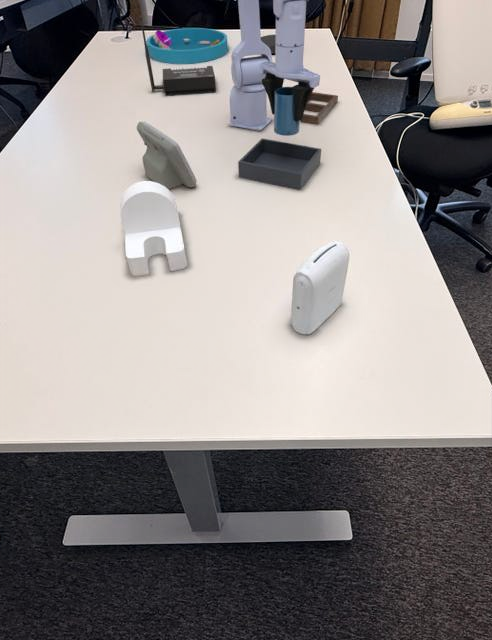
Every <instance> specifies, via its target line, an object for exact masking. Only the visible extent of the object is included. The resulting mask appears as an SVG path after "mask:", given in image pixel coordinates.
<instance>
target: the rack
mask: <svg viewBox="0 0 492 640" xmlns="http://www.w3.org/2000/svg"><path fill="white" fill-rule="evenodd" d="M338 100H339V95H338V94H337V95H336V94H331V93H322V92H315V91H312V93H311V95H310V97H309V99H308V102H307V104H306V107H305V111H308V112H314V113H315V112H316V113H317V114H315V115H314V114H310V113H309V114H308V113H304V114H303V118H302V120H300V123H305V124H306V123H307V124H312V125H319V124H320V123H321V122H322V121H323V119H324V118H325V117H326V116H327V115H328V113H330V112H331V110H332V109H333V108H334V107H335V106H336V104H337V103H338ZM309 101H317V102H325V103H326V104H322V103H314V102H309Z"/></svg>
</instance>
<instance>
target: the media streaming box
mask: <svg viewBox="0 0 492 640" xmlns="http://www.w3.org/2000/svg"><path fill="white" fill-rule="evenodd" d="M261 41H262V42H263V43H264V44H265V45H267V46H268V47H269V48H270V50H271V54H275V44H276V34H267V35H263V36H262V35H261Z"/></svg>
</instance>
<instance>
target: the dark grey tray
mask: <svg viewBox="0 0 492 640" xmlns="http://www.w3.org/2000/svg"><path fill="white" fill-rule="evenodd" d="M321 158H322V148H318V147H313V146H308V145H303V144H302V145H301V144H297V143H290V142H284V141H279V140H273V139H269V138H261V139H260V140H259V141H257V142H256V144H254V145H253V146H252V147H251V148H250V149H249V151H247V152H246V153H245V154H244V155H243V156H242V157H241V158H240V159H239V160H238V161H237V165H238V166H237V167H238V178H240V179H241V178H242V179H246V180H251V181H255V182H261V183H265V184H271V185H275V186H279V187H284V188H289V189H294V190H299V191H301V190H302V189H303V188H304V186H305V185H306V183H307V182H308V181H309V180H310V178H311V177H312V175H313V174H314V173H315V172H316V171H317V169H318V168H319V166H320V165H321Z"/></svg>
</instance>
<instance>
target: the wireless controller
mask: <svg viewBox="0 0 492 640" xmlns="http://www.w3.org/2000/svg"><path fill="white" fill-rule="evenodd" d="M140 27H141V33H142V38H143V44H144V52H145V53H144V54H145V59H146V65H147V66H146V67H147V72H148V77H149V82H150V88H151V91H152V92H155V91H158V90H163V91H164V96H165V97H168V96H169V97H171V96H183V95H184V96H186V95H199V94H201V95H202V94H211V93H212V94H213V93H217V87H216V86H217V85H216V76H215V72H214V71H215V70H214V67H213V65H207V66H206V67H199V66H198V67H194V68H183V67H182V68H181V69H180V67H179V69H177V68H176V69H172V68H162V83H163V84H158V85H155V80H154V73H153V68H152V62H151V57H150V56H149V52H148V48H147V43H146V41H147V38H146V34H145V33H146V32H145V28H144V24H141V26H140Z"/></svg>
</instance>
